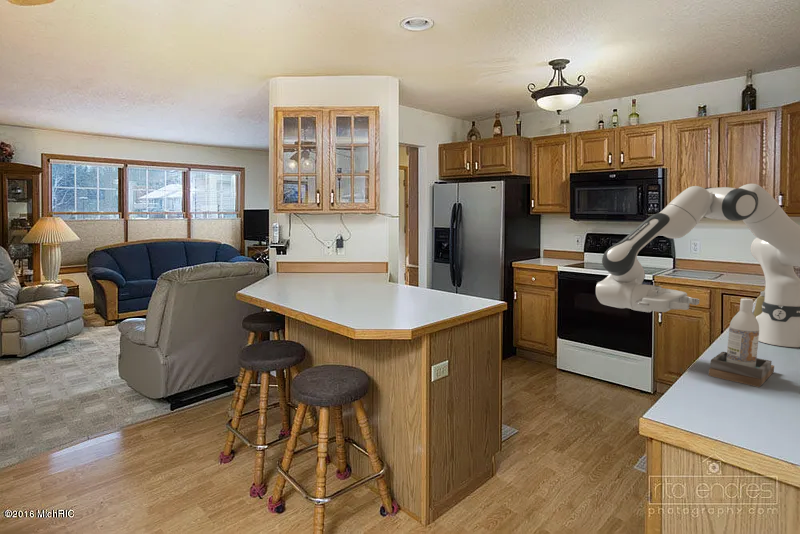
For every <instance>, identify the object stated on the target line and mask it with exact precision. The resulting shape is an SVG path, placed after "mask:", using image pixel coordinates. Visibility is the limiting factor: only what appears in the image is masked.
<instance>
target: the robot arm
mask: <svg viewBox="0 0 800 534" xmlns="http://www.w3.org/2000/svg"><path fill="white" fill-rule="evenodd" d="M703 218H705V219H706V218H708V219H711V220H718V221H731V222H732V221H733V222H738V221H743V223H744V224H745V225H746V227H747V228H748V229H749V230H750V232H751V233H752V234H753V235H754V236H755V238H753V240H752V242H751V245H750V252H751V253H750V254H751V255H752V257H753V258H754V259H755V260H756V261H757V262H758V264H759V265H760V267H761V270H762V271H763V275H764V279H765V288H764V290H765V300H764V302H763V305H762V311H763V312H762V313H761V314H760V315H758V316H756V319H757V321H758V324H759V339H758V342H761V343H764V344H768V345H772V346H780V347H787V348H800V277H799V276H798V275H797V273H796V272H795V268H794V267H796V268H797V267H798V268H800V224H798V223H797V222H795V221H794V220H792V219H791V218H790V217H789V216H788V214H787V213H786V212H785V211H784V209H783V208H782V207H781V206H780V204H779V203H778V202H777V200H776V199H775V198H774V197H773V196H772V194H771V193H769V192H768V191H767V190H766V189H765V188H763V187H762V186H761V185H759V184H758V183H747V184H743V185H742V186H740V187H738V188H735V187H730V186H729V187H728V186H722V187H721V186H720V187H712V186H711V187H702V186H700V185H699V186H698V185H693V186H692V185H691V186H688V187H687V188H686V189H683V191H681V192H680V193H679V194H678V195H677V196H675V197H674V198H673V199H672V200H671V201H670V202H669V203H668V204H667V205H666V206H665V207H664V208H663V209H662V210H661V211H660V212H658V213H655V214H652V215H650V216H649V217H647V219H645V220H643V221H642V223H640V224H639V225H638V226H637V227H636V228H634V229H633V230H632V231H631V232H630V233H629V234H628V235H627V236H625V237H624V238H623V239H621V240H620V241H618V242H617V243H615V244H613V245H612V246H610V247H609V248H607V249H606V251H604V254H603V255H602V257H601V262H602V263H601V264H602V266H603V268H604V269H605V270H606V271H607V272H608V273H609V274H608V275H607V276H606V277H605V278H603V279H602V280H601V281H597V282H596V286H595V297H596V298H597V301H598V302H599V303H600V304H601V305H604V306H608V307H612V308H617V309H629V310H630V309H631V310H633V311H637V312H643V313H644V312H645V313H651V312H652V311H653V312H656V313H657V312H658V313H667V312H669V311H671V310H683V311H684V310H685V311H686V310H689V309H690V304H691V305H693V306H697V305H700V299H699V298H695V297H691V296H688V293H687V292H685V291H682V290H676V289H670V288H667V287H666V288H663V287H662V286H661V285H653V284H643V282H644V280H645V278H646V273H645V272H646V271H645V269H644V268H643V266H642V264H641V262H640V261H639V259H638V254H639V252H640V251H641V250H642V249H643V248H645V247H646V245H648V244H649V243H650V242H651V241H652V240H654V239H655V238H656V237H658V236H663V237H664V238H667V239H681V238H683V237H685V236H686V235H688V234H689V233H690V232H691V231H692V230H693V229H694V228H695V227H696V226H697V225H698V224H699V222H700V221H701V220H702V219H703Z"/></svg>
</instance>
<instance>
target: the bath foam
mask: <svg viewBox="0 0 800 534" xmlns="http://www.w3.org/2000/svg"><path fill="white" fill-rule="evenodd" d="M739 303H740V304H739V305H740V306H739V311H738V312H737V313H736V314H735V315H734V316H733V317H732V319H731V321H730V322H729V328H728V336H727V338H728V339H727V349H726V352H727V360H726V362H729V363H734V364H739V365H744V366H749V367H754V368H755V367H756V359H757V358H758V346H759V341H758V339H759V324H758V321H757V319H756V317H755V316H754V312H753V307H754V299H753V298H748V297H747V298H746V297H745V298H743V297H742V298H740V301H739Z"/></svg>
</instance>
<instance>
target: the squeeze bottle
mask: <svg viewBox="0 0 800 534" xmlns="http://www.w3.org/2000/svg"><path fill="white" fill-rule="evenodd" d="M764 300H765V289H763V290H762V291H760V296H758V297H756V302H755V307H754V310H753V314H754V316H755V317H756V316H758V315H760V314H761V313H762V312H763V311H762V305H763V302H764Z"/></svg>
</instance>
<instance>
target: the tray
mask: <svg viewBox="0 0 800 534" xmlns="http://www.w3.org/2000/svg"><path fill="white" fill-rule="evenodd" d="M726 360H727V351H721V352H720V353H718V354H717V355H716V356H714V357H713V358H711V359H710V367H709V368H708V376H709V377H714V378H717V379H722V380H727V381H731V382H735V383H740V384H744V385H749V386H753V387H757V388H760V387H761V386H762V385H763V384H764V383H765V382H766V381H767V380H768V379H769V378H770V377H771V376H772V375H773V374H774V372H775V365H772V361H773V360H768V359H765V358H763V359H762V358H758V357H757V359H756V367H755V368H754V367H749V366H744V365H739V364H734V363H729V362H726Z"/></svg>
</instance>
